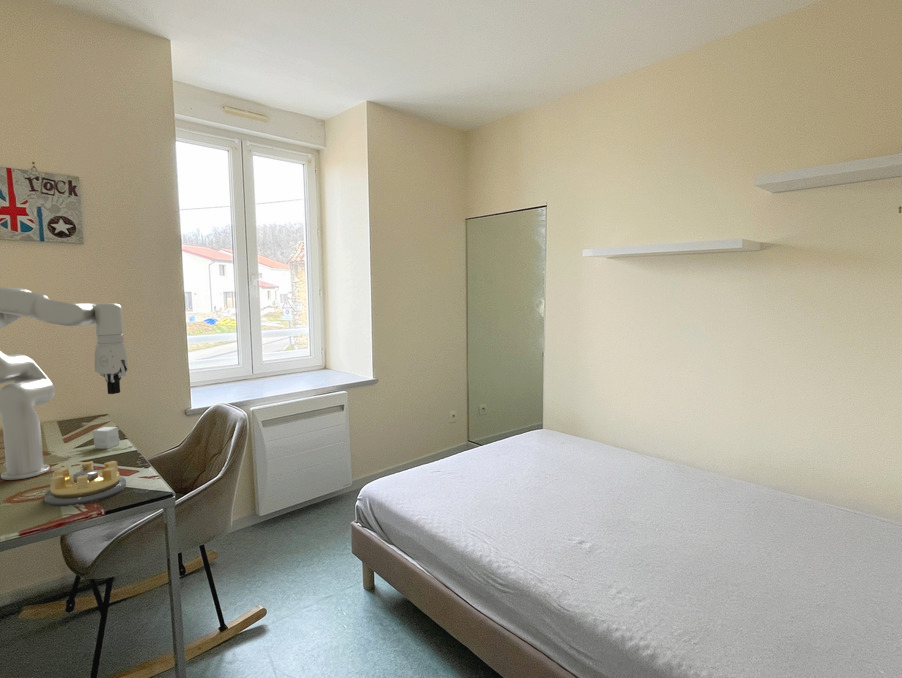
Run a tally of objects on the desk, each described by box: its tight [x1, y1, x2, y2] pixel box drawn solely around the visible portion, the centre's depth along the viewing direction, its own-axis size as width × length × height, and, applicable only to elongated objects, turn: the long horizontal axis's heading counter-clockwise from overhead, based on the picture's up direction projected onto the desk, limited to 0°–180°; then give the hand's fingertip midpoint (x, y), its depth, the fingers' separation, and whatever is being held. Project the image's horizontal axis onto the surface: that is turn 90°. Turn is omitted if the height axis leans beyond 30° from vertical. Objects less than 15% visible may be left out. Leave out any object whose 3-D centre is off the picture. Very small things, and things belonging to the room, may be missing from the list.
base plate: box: [44, 476, 127, 507], centre depth 150 cm, size 20×20×2 cm
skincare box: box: [92, 426, 120, 449], centre depth 197 cm, size 6×6×7 cm
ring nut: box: [49, 460, 121, 498], centre depth 150 cm, size 17×17×6 cm
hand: (114, 393), depth 167 cm, fingers closed
